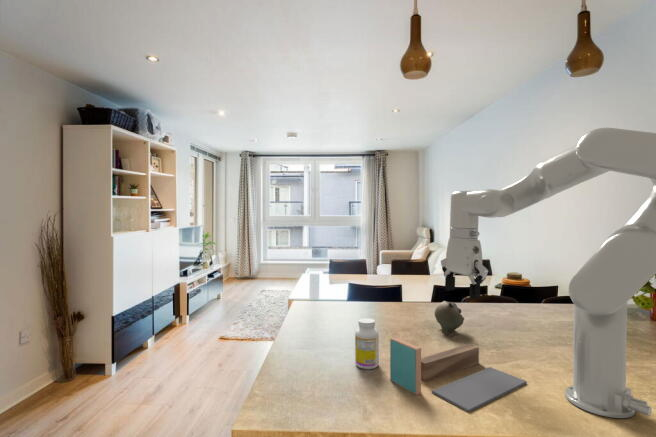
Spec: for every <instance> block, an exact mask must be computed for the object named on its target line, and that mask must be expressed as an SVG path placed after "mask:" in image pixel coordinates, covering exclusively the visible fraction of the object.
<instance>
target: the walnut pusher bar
mask: <svg viewBox="0 0 656 437" xmlns="http://www.w3.org/2000/svg"><path fill="white" fill-rule="evenodd" d="M479 360H480V347H479V346H477V345H474V344H472V343H468V344H465V345H460V346H457V347H454V348H452V349H448V350H445V351H441V352H438V353H434V354H431V355H430V354H429V355H427V356H424V357H423V356H422V357H421V382H423V383H426V382H428V381H432V380H435V379H437V378H441V377H443V376H445V375H449V374H452V373H454V372H457V371H461V370H464V369H467V368H470V367H472V366H475V365H477V364H479V363H480V361H479Z"/></svg>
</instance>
